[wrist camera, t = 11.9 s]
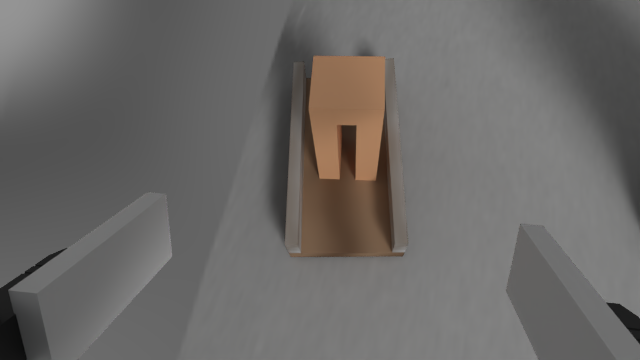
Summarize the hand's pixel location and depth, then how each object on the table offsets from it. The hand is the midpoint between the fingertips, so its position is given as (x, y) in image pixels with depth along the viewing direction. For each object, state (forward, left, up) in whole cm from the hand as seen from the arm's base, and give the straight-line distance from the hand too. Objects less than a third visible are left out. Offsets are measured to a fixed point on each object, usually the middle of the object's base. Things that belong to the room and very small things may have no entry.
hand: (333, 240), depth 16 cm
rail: (0, -14, -20) cm, 25 cm away
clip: (-1, -14, -19) cm, 23 cm away
